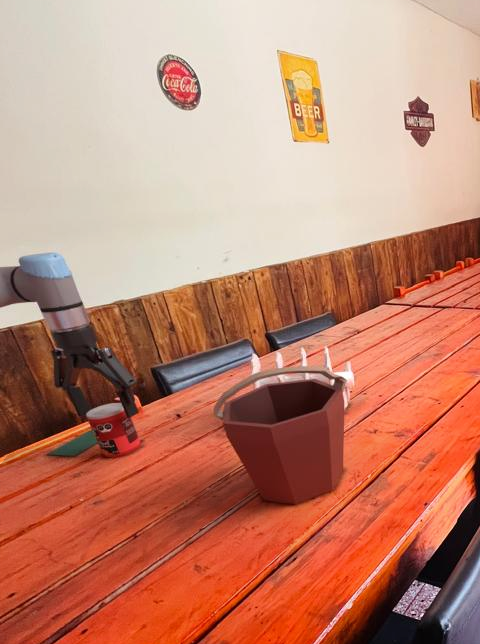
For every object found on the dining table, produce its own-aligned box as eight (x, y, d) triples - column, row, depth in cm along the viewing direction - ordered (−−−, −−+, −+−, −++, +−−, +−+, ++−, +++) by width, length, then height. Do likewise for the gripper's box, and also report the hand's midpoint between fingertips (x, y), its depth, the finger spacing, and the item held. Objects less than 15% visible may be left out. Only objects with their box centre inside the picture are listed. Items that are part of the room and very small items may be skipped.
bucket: (363, 448, 119) (344, 346, 108) (359, 503, 99) (336, 384, 88) (253, 463, 115) (223, 359, 104) (227, 523, 96) (186, 402, 85)
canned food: (98, 453, 124) (79, 412, 119) (132, 439, 130) (116, 400, 125) (111, 461, 120) (93, 419, 115) (147, 446, 126) (131, 406, 121)
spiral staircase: (357, 425, 139) (260, 434, 134) (356, 378, 149) (266, 384, 145) (349, 379, 124) (240, 387, 120) (348, 331, 135) (248, 336, 131)
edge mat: (47, 454, 125) (47, 454, 125) (95, 428, 137) (95, 427, 137) (74, 456, 123) (74, 455, 123) (120, 429, 136) (120, 428, 136)
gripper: (133, 321, 112) (165, 408, 122) (40, 323, 117) (78, 406, 126) (104, 331, 106) (141, 422, 115) (8, 333, 110) (51, 420, 120)
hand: (108, 414), depth 121 cm, fingers open, 13 cm apart
